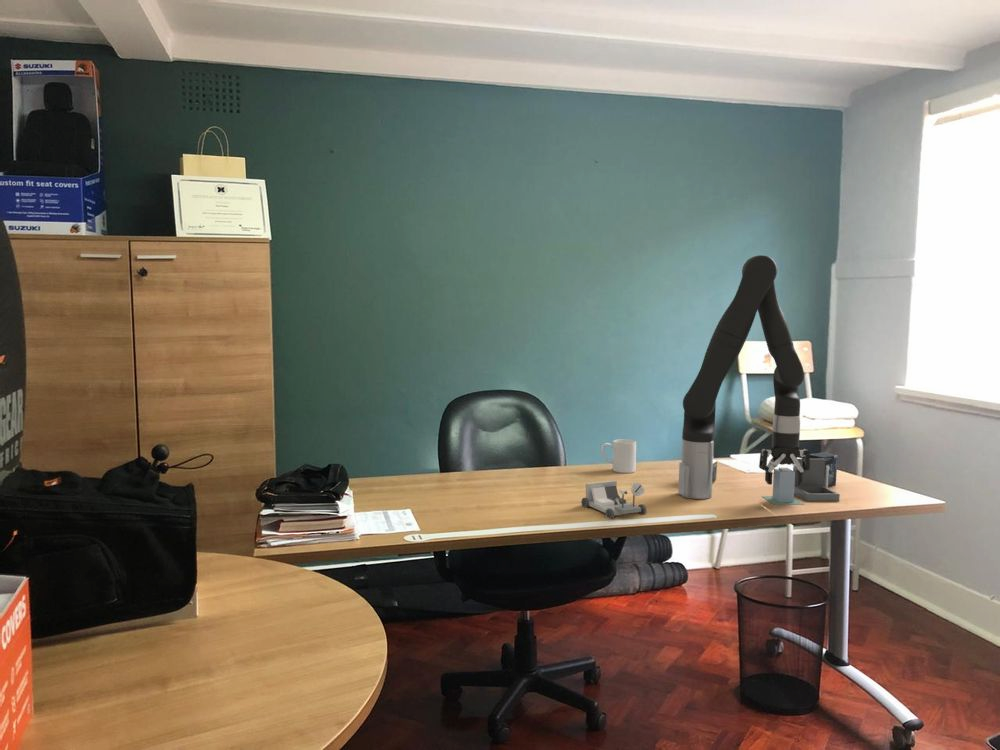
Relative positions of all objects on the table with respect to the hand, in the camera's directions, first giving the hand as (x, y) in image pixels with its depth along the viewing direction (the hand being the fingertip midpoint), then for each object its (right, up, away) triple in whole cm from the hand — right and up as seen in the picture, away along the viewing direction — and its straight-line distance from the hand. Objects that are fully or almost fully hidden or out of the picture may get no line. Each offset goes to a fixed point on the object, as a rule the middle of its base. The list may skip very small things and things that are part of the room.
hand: (783, 484), depth 219 cm
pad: (0, -5, +1) cm, 5 cm away
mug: (-43, -1, +39) cm, 58 cm away
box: (+20, -4, +20) cm, 29 cm away
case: (+12, -5, +5) cm, 14 cm away
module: (0, -5, 0) cm, 5 cm away
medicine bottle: (-17, -3, +25) cm, 30 cm away
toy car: (-52, -7, -12) cm, 53 cm away
